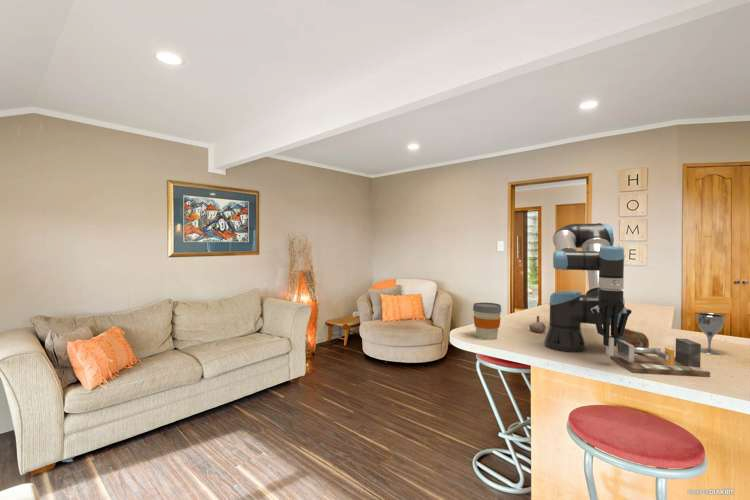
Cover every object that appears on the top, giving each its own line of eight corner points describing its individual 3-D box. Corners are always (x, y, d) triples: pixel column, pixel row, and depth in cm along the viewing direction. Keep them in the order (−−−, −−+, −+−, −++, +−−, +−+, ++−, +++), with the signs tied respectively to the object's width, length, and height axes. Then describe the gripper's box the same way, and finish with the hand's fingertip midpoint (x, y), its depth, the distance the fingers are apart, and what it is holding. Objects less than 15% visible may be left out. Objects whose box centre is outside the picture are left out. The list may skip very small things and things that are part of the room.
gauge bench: (632, 372, 124) (633, 344, 124) (610, 357, 140) (610, 333, 140) (709, 376, 120) (710, 348, 120) (678, 361, 136) (678, 335, 136)
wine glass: (690, 349, 151) (691, 312, 151) (708, 348, 152) (709, 312, 152) (710, 355, 144) (710, 316, 143) (728, 354, 144) (729, 316, 144)
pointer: (670, 364, 123) (670, 350, 123) (664, 361, 126) (664, 347, 126) (674, 365, 123) (674, 350, 123) (668, 362, 126) (668, 347, 126)
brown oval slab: (613, 345, 157) (614, 325, 157) (620, 345, 157) (621, 325, 157) (642, 356, 142) (643, 334, 142) (650, 356, 142) (650, 334, 142)
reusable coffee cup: (471, 333, 177) (471, 302, 177) (498, 334, 176) (498, 302, 175) (474, 340, 165) (474, 306, 165) (503, 341, 163) (504, 307, 163)
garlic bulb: (544, 334, 176) (544, 317, 176) (527, 332, 180) (528, 315, 180) (546, 331, 182) (546, 315, 182) (530, 329, 186) (531, 313, 186)
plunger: (633, 364, 125) (633, 348, 125) (617, 354, 136) (617, 339, 136) (671, 366, 123) (671, 350, 123) (652, 356, 134) (652, 341, 134)
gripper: (595, 290, 129) (594, 357, 130) (636, 291, 127) (635, 359, 128) (586, 287, 137) (585, 350, 137) (625, 288, 135) (624, 352, 135)
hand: (609, 354), depth 132 cm, fingers closed
